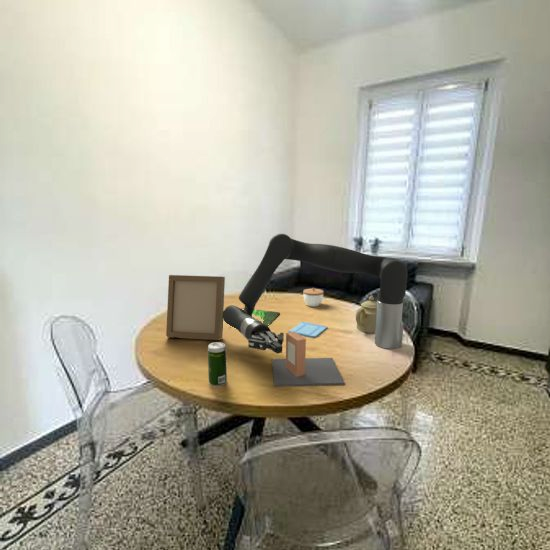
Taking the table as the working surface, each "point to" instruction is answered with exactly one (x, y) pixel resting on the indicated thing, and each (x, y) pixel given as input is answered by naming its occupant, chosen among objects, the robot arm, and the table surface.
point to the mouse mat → (266, 316)
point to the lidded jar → (313, 297)
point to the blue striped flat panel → (308, 329)
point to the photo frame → (195, 307)
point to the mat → (308, 373)
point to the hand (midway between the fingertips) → (279, 350)
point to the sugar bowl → (367, 316)
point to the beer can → (217, 364)
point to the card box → (295, 353)
